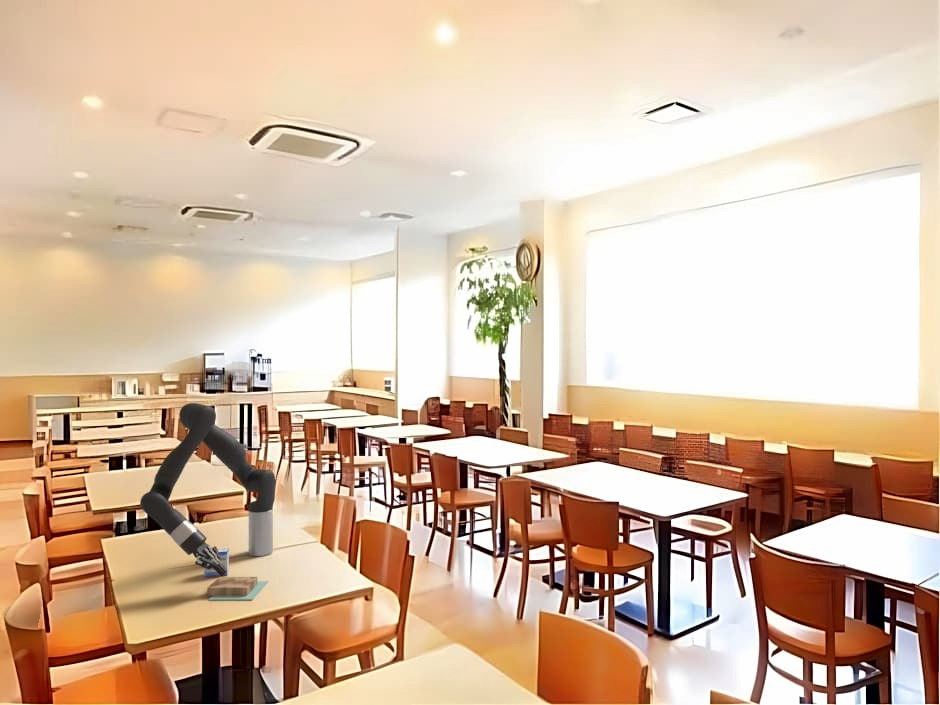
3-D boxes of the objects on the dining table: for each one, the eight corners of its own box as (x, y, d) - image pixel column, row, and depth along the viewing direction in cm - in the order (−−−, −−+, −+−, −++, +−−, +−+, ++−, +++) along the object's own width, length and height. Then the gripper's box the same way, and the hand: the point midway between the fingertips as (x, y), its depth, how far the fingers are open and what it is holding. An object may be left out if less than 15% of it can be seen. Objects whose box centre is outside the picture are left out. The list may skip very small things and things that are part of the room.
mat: (227, 582, 219) (227, 581, 219) (267, 582, 219) (267, 581, 219) (208, 600, 203) (208, 599, 203) (252, 600, 203) (252, 599, 203)
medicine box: (204, 577, 223) (203, 553, 223) (205, 573, 228) (205, 549, 228) (227, 575, 225) (227, 551, 225) (228, 571, 230) (228, 547, 230)
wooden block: (219, 576, 216) (257, 576, 216) (219, 584, 216) (257, 584, 216) (207, 587, 206) (247, 587, 206) (207, 595, 206) (247, 595, 206)
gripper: (187, 534, 204) (225, 572, 204) (204, 523, 217) (239, 559, 217) (170, 551, 204) (208, 589, 204) (189, 539, 217) (224, 574, 217)
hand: (224, 573), depth 211 cm, fingers closed
